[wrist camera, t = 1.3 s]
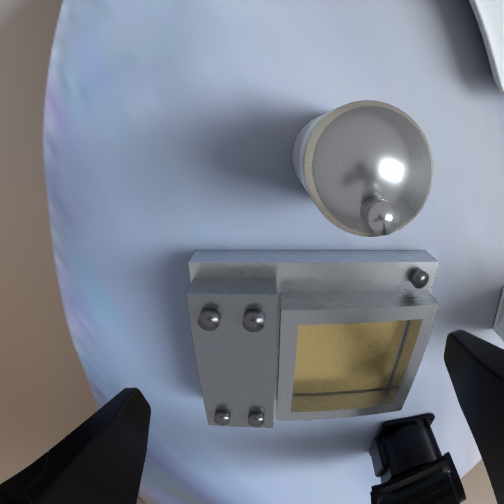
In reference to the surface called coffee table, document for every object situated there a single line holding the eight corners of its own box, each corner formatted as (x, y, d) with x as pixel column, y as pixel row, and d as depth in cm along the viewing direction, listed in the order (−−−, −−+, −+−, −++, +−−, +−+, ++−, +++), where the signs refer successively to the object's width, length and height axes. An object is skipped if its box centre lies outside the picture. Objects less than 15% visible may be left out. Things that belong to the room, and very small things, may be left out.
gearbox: (426, 250, 19) (457, 278, 15) (387, 392, 24) (400, 428, 20) (195, 250, 20) (176, 281, 16) (214, 397, 25) (205, 436, 21)
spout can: (379, 117, 16) (453, 108, 8) (377, 202, 18) (442, 249, 10) (291, 111, 17) (309, 89, 9) (292, 200, 19) (308, 249, 11)
